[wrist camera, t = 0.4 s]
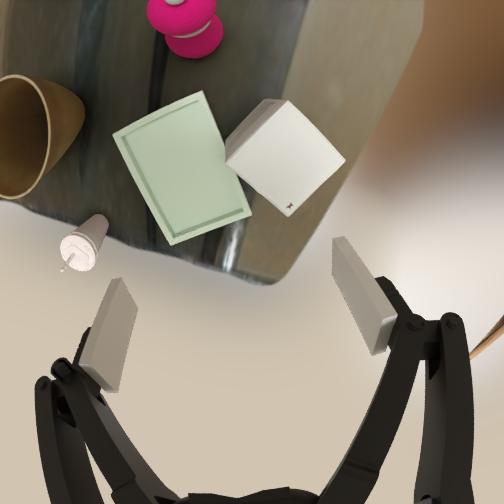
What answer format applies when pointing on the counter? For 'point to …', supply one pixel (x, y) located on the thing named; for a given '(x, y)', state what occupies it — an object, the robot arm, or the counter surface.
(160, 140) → the tray
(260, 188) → the supplement box
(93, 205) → the counter surface
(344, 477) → the robot arm
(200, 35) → the pepper mill
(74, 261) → the smoothie
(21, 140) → the plant pot
